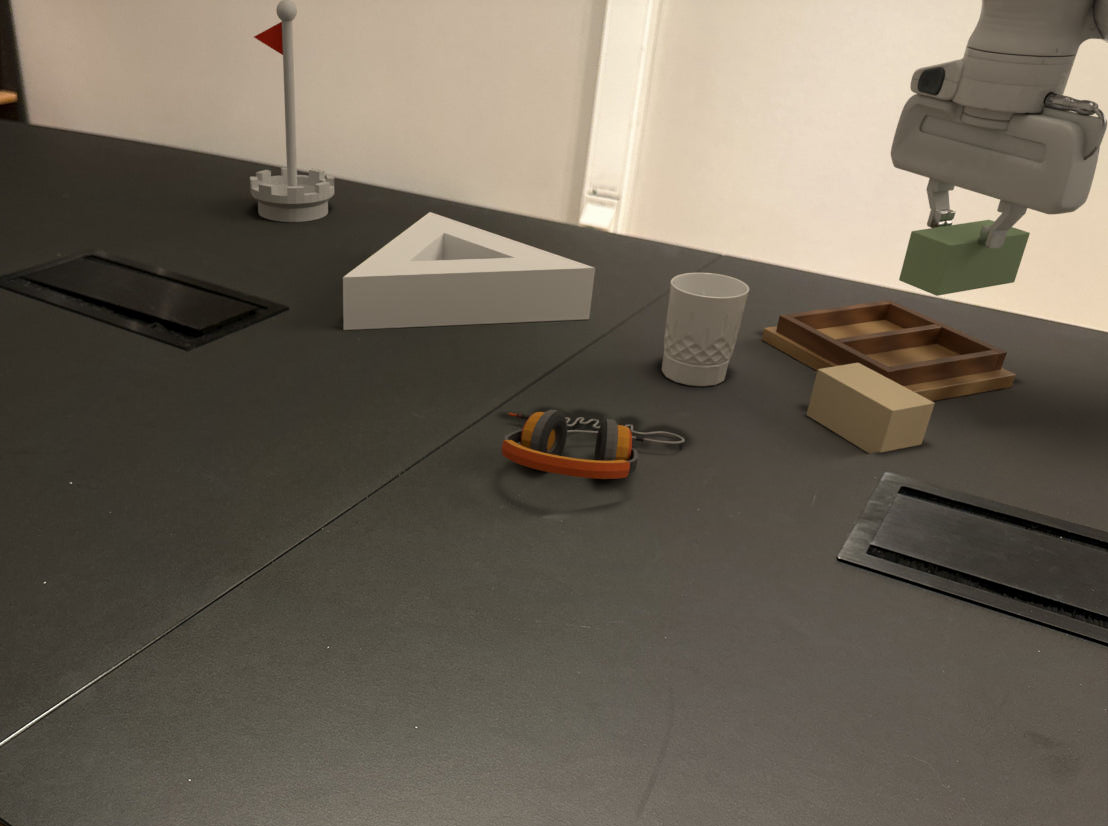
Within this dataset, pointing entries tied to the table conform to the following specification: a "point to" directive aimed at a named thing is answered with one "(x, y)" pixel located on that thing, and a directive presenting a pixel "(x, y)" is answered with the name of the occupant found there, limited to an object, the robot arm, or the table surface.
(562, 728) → the table surface
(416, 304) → the triangle block
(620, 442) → the headphones
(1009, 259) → the sage block
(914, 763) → the table surface
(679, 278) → the white cup
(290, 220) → the flag stand
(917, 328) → the wooden tray
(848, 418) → the beige block
